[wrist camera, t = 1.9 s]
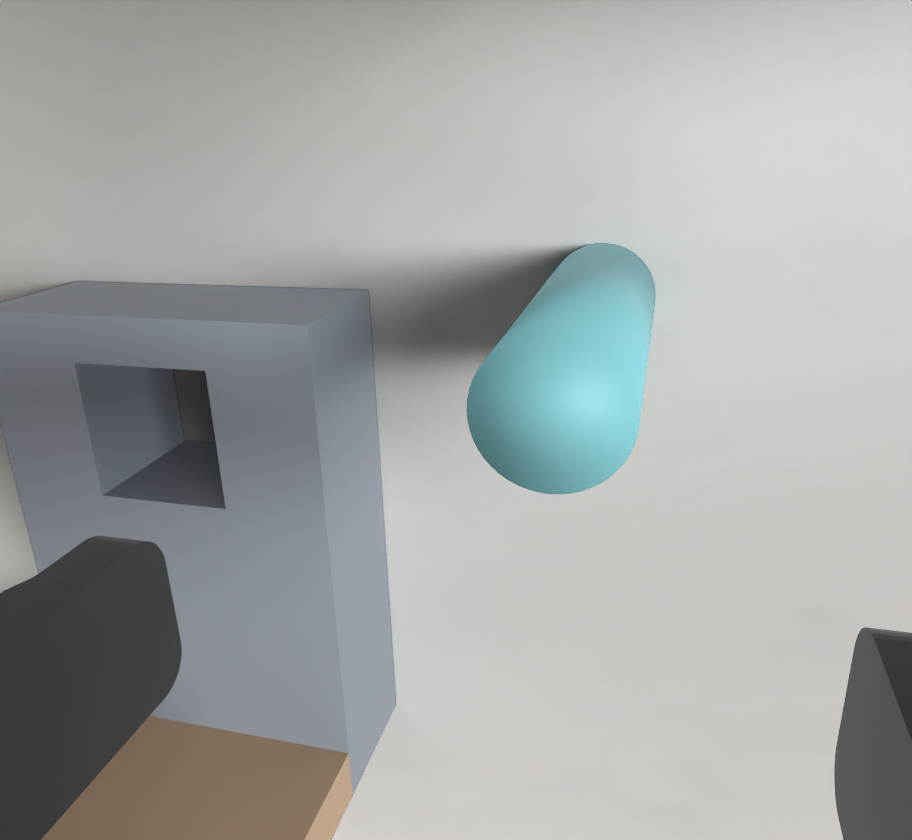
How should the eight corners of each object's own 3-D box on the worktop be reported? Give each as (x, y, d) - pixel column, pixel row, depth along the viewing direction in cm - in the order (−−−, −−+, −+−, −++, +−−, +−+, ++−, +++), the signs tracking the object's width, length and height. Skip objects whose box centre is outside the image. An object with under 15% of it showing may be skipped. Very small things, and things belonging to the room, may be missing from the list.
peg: (549, 242, 25) (464, 328, 15) (658, 243, 24) (644, 335, 14) (547, 344, 26) (468, 486, 16) (651, 349, 25) (634, 501, 16)
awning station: (55, 280, 30) (-1102, 594, 11) (395, 290, 27) (-386, 783, 7) (135, 659, 37) (-491, 1292, 17) (418, 707, 33) (41, 1569, 14)
